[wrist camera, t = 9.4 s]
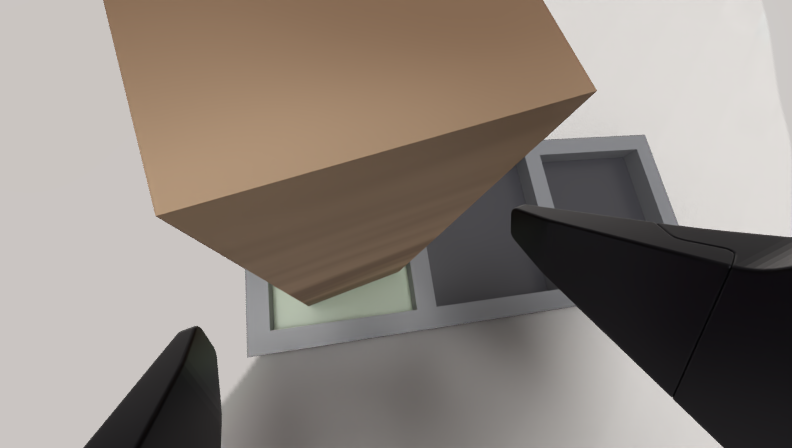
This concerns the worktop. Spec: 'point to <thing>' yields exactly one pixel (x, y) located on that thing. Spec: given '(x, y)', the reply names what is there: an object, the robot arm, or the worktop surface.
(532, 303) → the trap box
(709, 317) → the robot arm
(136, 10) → the walnut block
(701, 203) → the worktop surface
